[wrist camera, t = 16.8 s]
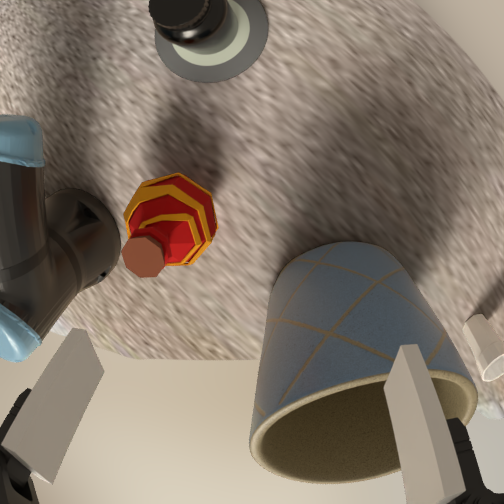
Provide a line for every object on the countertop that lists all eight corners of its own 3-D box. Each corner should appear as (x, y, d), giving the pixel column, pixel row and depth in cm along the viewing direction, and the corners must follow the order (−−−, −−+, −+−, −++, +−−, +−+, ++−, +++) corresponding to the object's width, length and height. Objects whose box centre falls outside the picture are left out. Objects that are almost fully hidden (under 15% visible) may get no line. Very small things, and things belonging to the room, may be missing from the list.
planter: (405, 343, 49) (444, 461, 28) (275, 362, 52) (269, 490, 32) (416, 219, 38) (510, 340, 18) (248, 242, 42) (219, 391, 21)
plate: (157, 87, 33) (155, 87, 32) (156, -9, 27) (154, -10, 26) (269, 80, 32) (268, 80, 31) (267, -20, 26) (266, -22, 25)
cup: (452, 334, 47) (475, 379, 38) (473, 306, 44) (501, 349, 34) (473, 341, 48) (495, 382, 38) (493, 314, 45) (520, 355, 35)
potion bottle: (199, 144, 36) (153, 178, 23) (241, 216, 40) (223, 283, 27) (133, 186, 39) (71, 236, 26) (175, 249, 43) (135, 319, 30)
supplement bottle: (249, 12, 28) (235, -23, 17) (224, 63, 31) (199, 49, 20) (193, -4, 27) (157, -39, 16) (170, 46, 30) (124, 30, 19)
